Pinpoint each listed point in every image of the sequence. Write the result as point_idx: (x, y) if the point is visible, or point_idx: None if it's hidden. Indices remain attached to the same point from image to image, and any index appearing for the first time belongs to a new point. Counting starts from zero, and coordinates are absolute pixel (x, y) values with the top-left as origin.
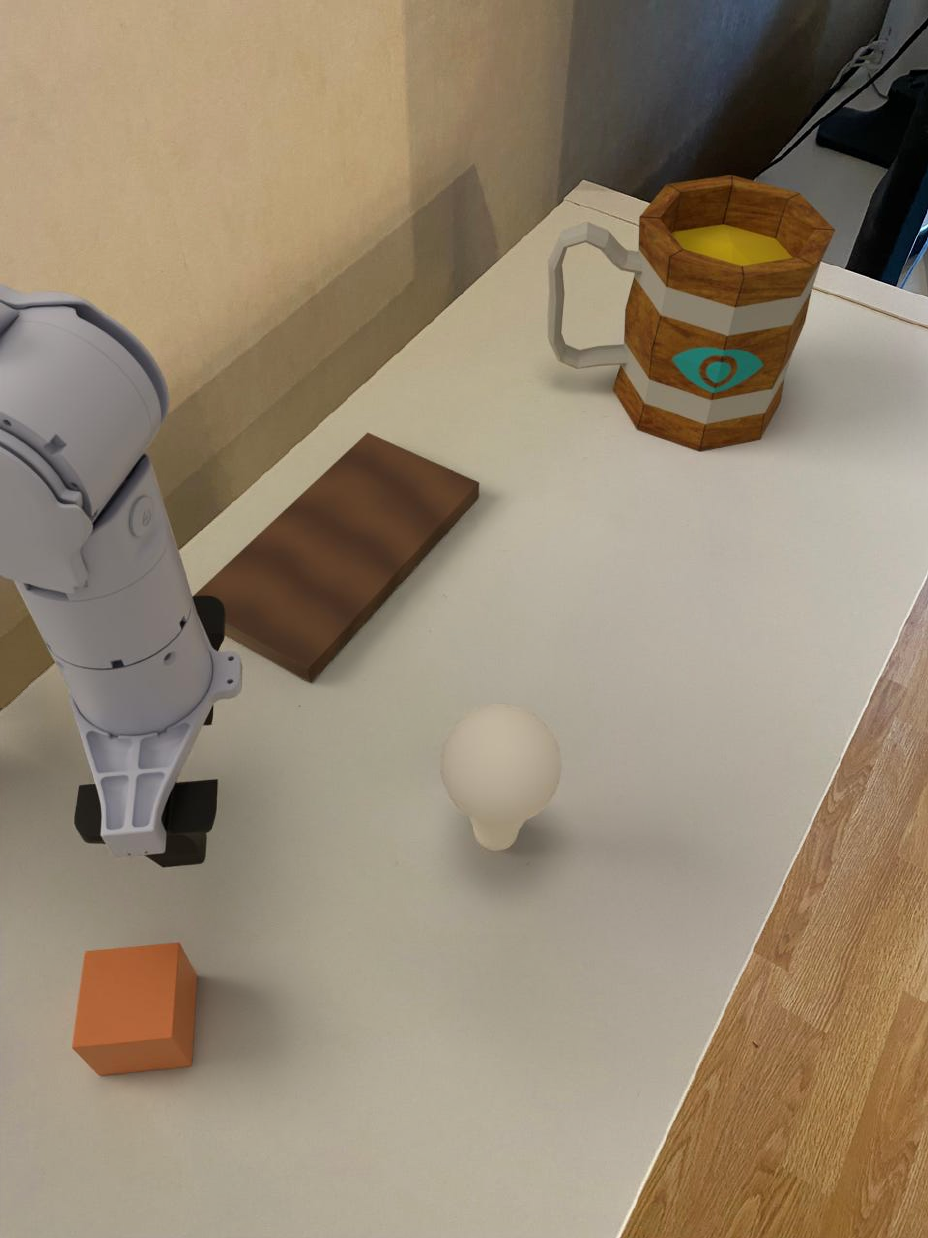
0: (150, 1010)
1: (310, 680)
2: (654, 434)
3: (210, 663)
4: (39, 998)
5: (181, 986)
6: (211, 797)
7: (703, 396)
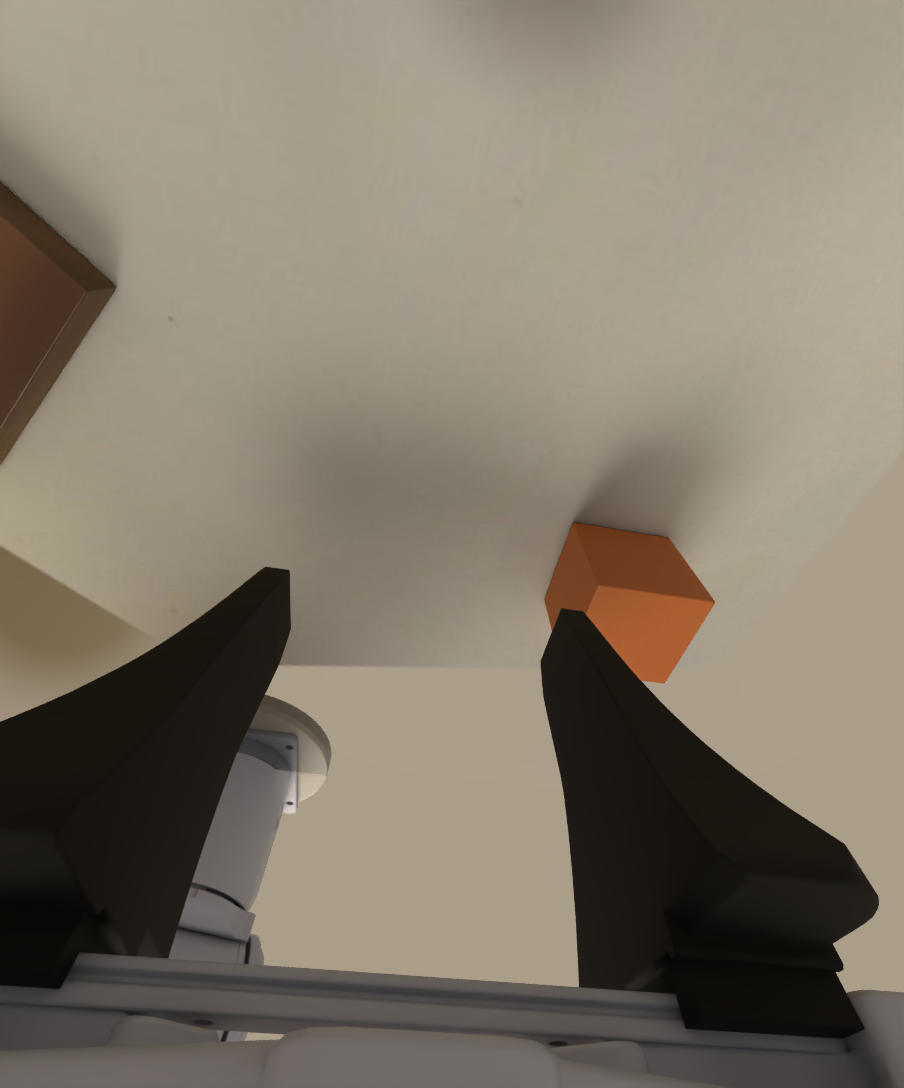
0: (669, 619)
1: (110, 286)
2: None
3: None
4: (532, 649)
5: (638, 575)
6: (799, 889)
7: None
